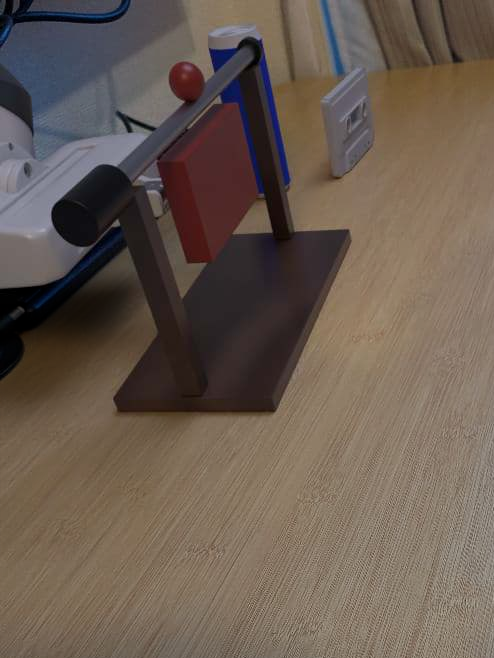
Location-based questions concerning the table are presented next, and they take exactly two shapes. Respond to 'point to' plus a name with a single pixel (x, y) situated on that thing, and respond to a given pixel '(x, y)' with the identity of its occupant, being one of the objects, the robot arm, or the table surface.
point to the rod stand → (231, 297)
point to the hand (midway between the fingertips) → (167, 196)
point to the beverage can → (221, 51)
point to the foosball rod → (178, 167)
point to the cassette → (348, 121)
